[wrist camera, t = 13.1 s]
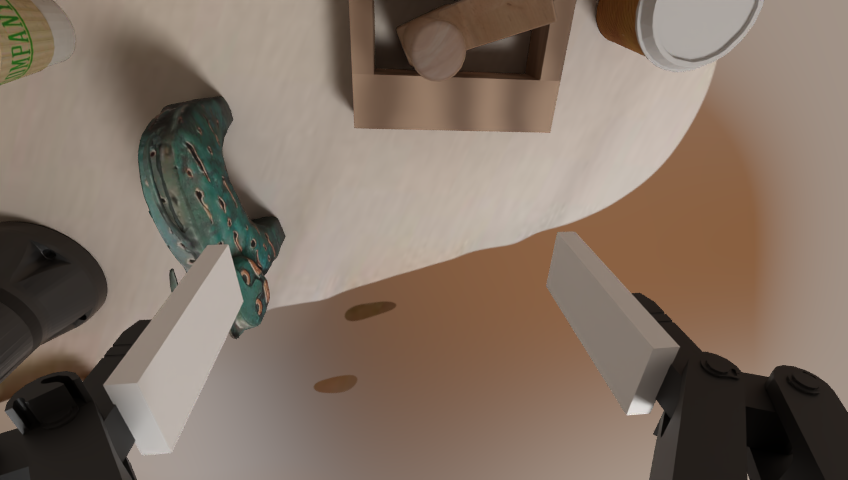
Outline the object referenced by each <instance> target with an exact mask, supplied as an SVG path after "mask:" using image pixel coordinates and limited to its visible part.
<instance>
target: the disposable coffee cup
mask: <svg viewBox="0 0 848 480" xmlns="http://www.w3.org/2000/svg"><path fill="white" fill-rule="evenodd" d="M763 2H764V0H599V3H598V6H597V14H596V19H597V24H598V28H599V30H600V32H601V34H602V35H603V36H604V37H605V38H606V39H608V40H610V41H612V42H615V43H617V44H619V45H621V46H623V47H625V48H628V49H630V50H633V51H634V52H637V53H639V54H641V55H644V56H646V58H647V59H648V60H649V61H651V62H652V63H653V64H654V65H655V66H657V67H659V68H661V69H664V70H667V71H672V72H685V71H690V70H695V69H697V68H699V67H702V66H704V65H706V64H709V63H712V62H714V61H716V60H717V59H719V58H721V57H722V56H724V55H726V54H727V53H728V52H730V51H731V50H732V49H733V48H734V47H735V46H736V45H737V44H738V43H740V42H741V41H742V39H743V38H744V37H745V35H746V34H747V33H748V31H749V30H750V28H751V27H752V26H753V25H754V23H755V21H756V19H757V17H758V15H759V13H760V11H761V9H762V5H763Z"/></svg>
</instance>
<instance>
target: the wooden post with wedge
mask: <svg viewBox="0 0 848 480" xmlns="http://www.w3.org/2000/svg"><path fill="white" fill-rule="evenodd" d="M556 21H557V15H556V11H555V6H554V1H553V0H460V1H458V2H456V3H454V4H452V5H451V4H446V5H442V6H440V7H438V8H436V9H434V10H432V11H430V12H428V13H425V14H423V15H421V16H419V17H417V18H415V19H413V20H411V21H409V22H407V23H405V24H402V25H400V26H398V27H397V28H396V32H397V35H398V37H399V40H400V42H401V45H402V47H403V50H404V52H405V55H406V57H407V60H408V62H409V65H410V66H414V68H415V70H416V71H417V72H418V73H419V74H420V75H421V76H422V77H423V78H425V79H427V80H430V81H436V82H441V81H445V80H448V79H450V78H451V77H453V76H454V75H456V74H457V72H458V71H459V70H460V69H461V67H462V65H463V63H464V60H465V56H466V50H469V49H472V48H475V47H479V46H482V45H485V44H488V43H491V42H494V41H497V40H501V39H504V38H507V37H510V36H513V35H516V34H520V33H523V32H526V31H529V30H532V29H535V28H538V27H542V26H545V25H548V24H551V23H554V22H556Z"/></svg>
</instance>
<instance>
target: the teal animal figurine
mask: <svg viewBox="0 0 848 480" xmlns="http://www.w3.org/2000/svg"><path fill="white" fill-rule="evenodd" d="M232 121H233V117H232V113H231V110H230V108H229V106H228V104H227V102H226V101H225V99H224V98H223V97H221V96H219V97H213V98H203V99H195V100H191V101H187V102H182V103H176V104H171V105H168V106H166V107H164V108H163V109H162V111H161V113H160V114H159V115H157V116H156V117H155V118H154V119H153V120H152V121H151V122H150V123H149V124H148V126H147V128H146V129H145V131H144V132H143V134H142V136H141V139H140V144H139V150H138V163H139V172H140V180H141V185H142V190H143V194H144V198H145V200H146V203H147V205H148V207H149V210H150V211H149V213H150V215H151V217H152V218H153V220H154V222H155V224H156V226H157V228H158V230H159V232H160V234H161V236H162V238H163V240H164V241H165V243H166V244H167V246H168V248H169V249H170V251H171V252H172V253H173V255H174V256H175V258H176V259H177V260H178V261H179V262H180V263H181V264H182V266H183V267H184V268H185V270H186V273H187V272H188V271H189V269H190V268H191V267H192V265H193V264H194V263H195V261H196V260H197V259H198V257H199V256H200V255H201V253H202V252H203V250H204V249H205V248H206V246H207V245H223V244H228V245H229V248H230V252H231V256H232V260H233V264H234V267H235V271H236V275H237V279H238V282H239V286H240V290H241V294H242V298H243V303H242V305H241V308H240V310H239V312H238V314H237V316H236V318H235V320H234V322H233V325H232V327H231V329H230V331H229V334H230V335H231V337H232V338H234V339H237V338H239V336H240V335H241V334H242V333H243V331H244V330H247V329H250V328H253V327H256V326H258V325H259V324H260V323H261V321H262V319H263V317H264V314H265V312H266V309H267V305H268V303H269V299H270V292H269V288H268V283H267V280H266V278H265V277H264V275H265V274H266V273H267V272H268V270H269V268H270V266H271V264H272V262H273V261H274V260H275V259H276V258H277V256H278V254H279V251H280V247H281V245H282V243H283V241H284V239H285V234H284V232H283V229H282V227H281V225H280V222H279V220H278V219H277V218H275V217H264V218H260V219H256V220H250V218H249V217H248V216H247V214H246V213H245V211H244V210H243V208H242V206H241V203H240V201H239V199H238V197H237V194H236V192H235V190H234V188H233V186H232V184H231V183H230V180H229V177H228V173H227V170H226V166H225V162H224V158H223V153H222V147H223V142H224V137H225V135H226V133H227V130H228V128H229V126H230V124H231V122H232ZM169 276H170V287H171V292H173V291H174V289H175V288H176V287H177V285H178V282H177V278H176V276H175V273H174V269H171V270H170V274H169Z"/></svg>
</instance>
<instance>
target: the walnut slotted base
mask: <svg viewBox="0 0 848 480" xmlns="http://www.w3.org/2000/svg"><path fill="white" fill-rule="evenodd" d="M553 1H554V6H555V11H556V15H557V21H556V22H554V23H551V24H548V25H545V26H542V27H538V28H535V29H532V32H531V38H530V45H529V51H528V58H527V64H526V70H525V74H521V73H493V72H465V71H458V72H457V74H456V75H454V76H453V77H451V78H450V79H448V80H445V81H441V82H436V81H430V80H427V79H425V78H423V77H422V76H421V75H420V74H419V73H418V72H417V71H416V70H410V69H382V68H375V16H374V0H349V17H350V39H351V62H352V84H353V106H354V128H369V129H413V130H456V131H500V132H543V133H550V131H551V126H552V120H553V115H554V110H555V105H556V100H557V95H558V90H559V85H560V80H561V75H562V70H563V65H564V60H565V55H566V50H567V45H568V40H569V35H570V30H571V24H572V19H573V14H574V9H575V4H576V0H553Z"/></svg>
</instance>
